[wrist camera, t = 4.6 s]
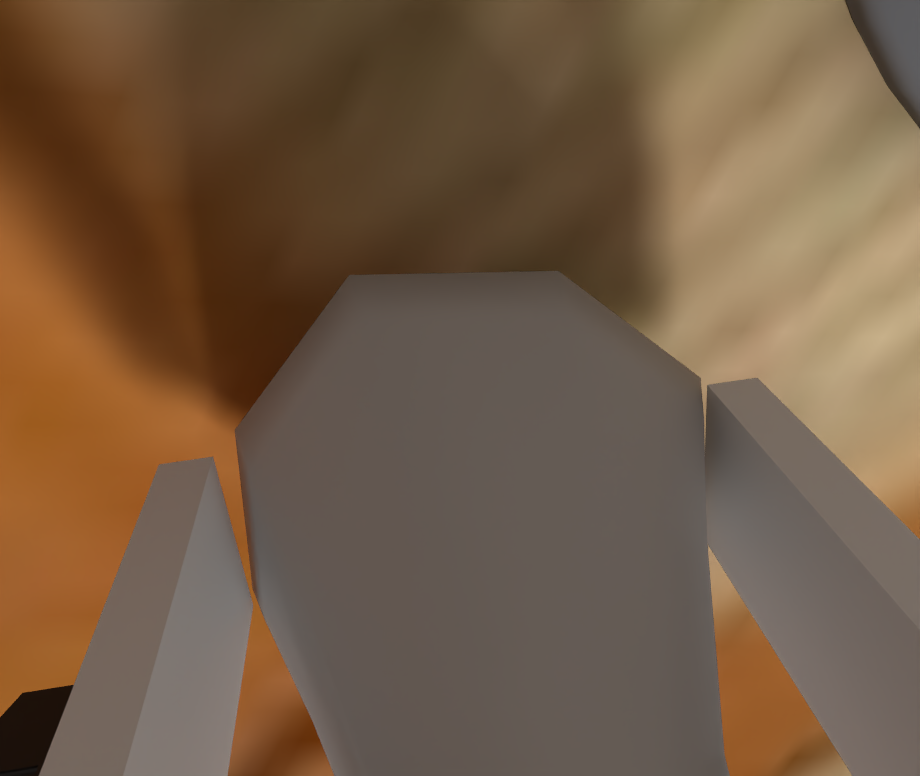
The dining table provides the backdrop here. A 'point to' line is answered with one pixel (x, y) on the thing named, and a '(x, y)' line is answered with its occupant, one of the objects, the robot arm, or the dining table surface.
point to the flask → (486, 533)
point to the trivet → (893, 45)
